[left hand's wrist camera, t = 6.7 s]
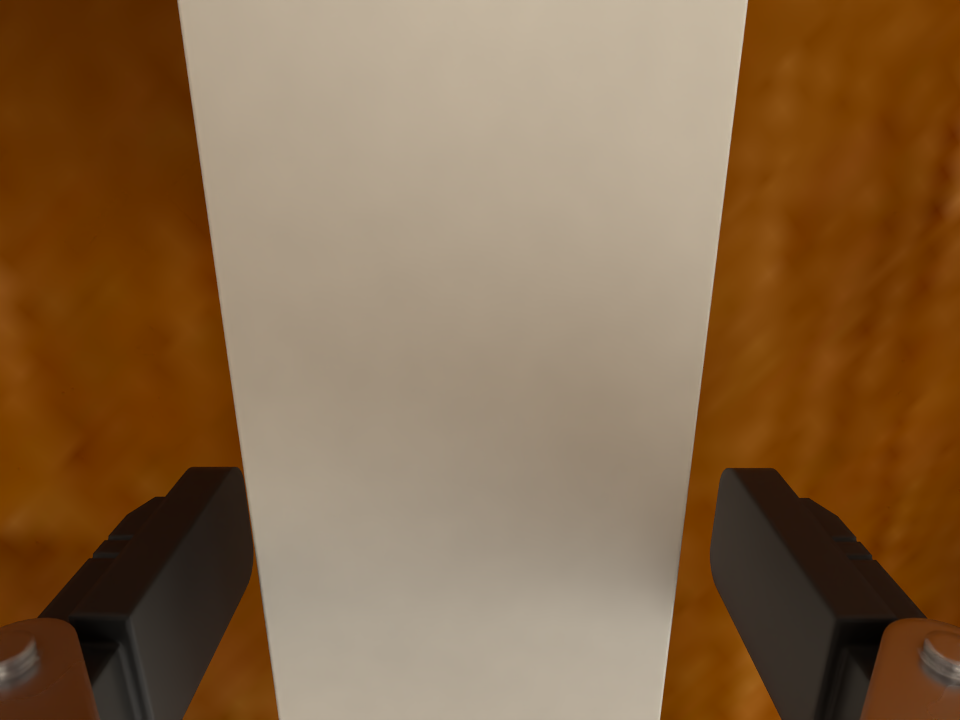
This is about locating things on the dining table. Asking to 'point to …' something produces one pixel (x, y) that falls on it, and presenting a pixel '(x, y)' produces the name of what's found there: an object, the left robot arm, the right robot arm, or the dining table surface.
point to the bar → (465, 336)
